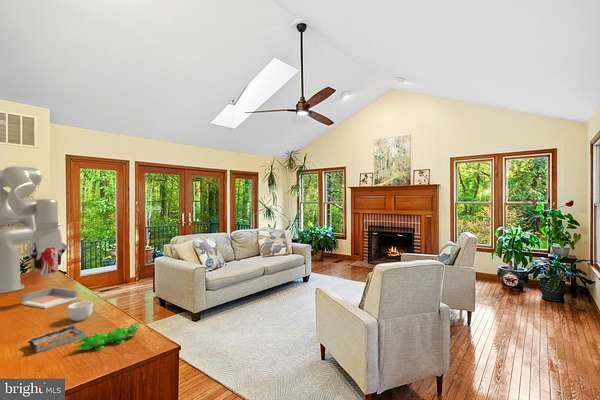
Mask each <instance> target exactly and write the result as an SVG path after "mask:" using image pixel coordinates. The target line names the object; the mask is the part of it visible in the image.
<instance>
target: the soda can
mask: <svg viewBox="0 0 600 400" xmlns="http://www.w3.org/2000/svg"><path fill="white" fill-rule="evenodd" d="M55 247H56V246H55ZM55 247H47V249H46V250H45V251H44V252H43V253H41V254H42V255H41V257H40V259H41V269H37V271H38V272H37V273H38V274H39V275H41V276H48V275H54V274H56V273H57V272H58V271H59V265H58V250H57V249H56V248H55Z"/></svg>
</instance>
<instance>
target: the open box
mask: <svg viewBox="0 0 600 400" xmlns="http://www.w3.org/2000/svg"><path fill="white" fill-rule="evenodd" d="M20 299H21V305H26V306H29V307H35V308H40V309H48V308H51V307H54V306H58V305H60V304H65V303H67V302H71V301H75V300H78V290H77V289H71V288H65V287H64V288H63V287H58V286H57V287H55V286H53V287H49V288H45V289H41V290H37V291H33V292H29V293H25V294H21V298H20Z"/></svg>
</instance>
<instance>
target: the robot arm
mask: <svg viewBox="0 0 600 400" xmlns="http://www.w3.org/2000/svg"><path fill="white" fill-rule="evenodd" d="M42 180H43V174H42V172H41V171H40V170H39V169H38V168H37V167H36V168H35V167H29V166H27V167H26V166H15V165H13V166H9V167H8V166H7V167H5V168H4V169H0V225H3V226H2V227H0V294H5V293H6V294H7V293H12V292H17V291H20V290H23V289H25V284H22V283H21V254H20V252H19V250H18V249H17V248H15V247H14V246H18V245H28V244H31V246H30V247H29V248H28V249H27V250H26V251H25V254H26V255H28V257H30V258H31V259H32V260H33V266H34V269H37V270H38V269H41V259H40V257H41V255H42V254H41V253H43V252H44V251H45V250H46V249H47V247H55V246H56V247H55V248H56V249H57V250H58V266H61V263H62V256H63V254H64V253H65V252H66V250H67V249H68V248H69V245H67V244H66V243H63V238H62V233H61V229H60V228H59V227H61V225H62V224H61V222H59V209H58V206H59V205H58V200H57V199H54V198H27V197H28V196H31V195H32V194H34V192H36V188H37V187H36V186H37V185H39V184H40V183H41V182H42ZM5 188H10V190H9V191H8V190H6V189H5ZM25 197H26V198H25ZM4 225H13V226H4Z"/></svg>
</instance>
